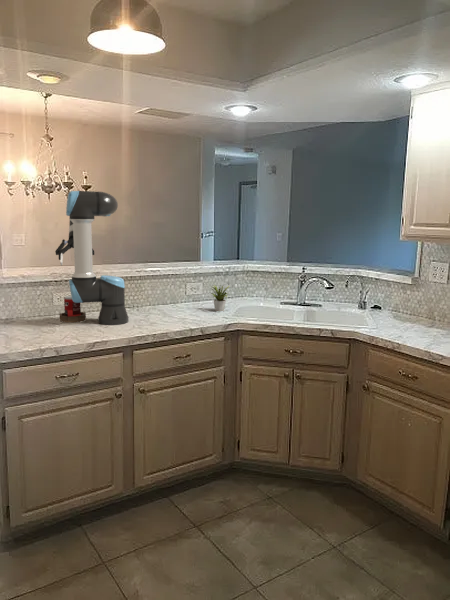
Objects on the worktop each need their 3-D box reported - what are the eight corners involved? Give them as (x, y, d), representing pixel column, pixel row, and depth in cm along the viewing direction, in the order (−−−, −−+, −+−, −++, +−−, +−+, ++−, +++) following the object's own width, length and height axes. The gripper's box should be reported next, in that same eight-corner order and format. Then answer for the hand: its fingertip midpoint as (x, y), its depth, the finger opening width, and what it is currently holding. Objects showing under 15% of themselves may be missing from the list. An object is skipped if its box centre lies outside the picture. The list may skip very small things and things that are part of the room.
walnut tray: (91, 319, 261) (90, 313, 261) (72, 323, 250) (72, 317, 250) (72, 316, 267) (72, 310, 267) (54, 320, 256) (54, 314, 256)
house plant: (202, 312, 283) (202, 283, 280) (208, 307, 296) (208, 280, 293) (226, 313, 280) (227, 284, 277) (231, 309, 293) (232, 281, 290)
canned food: (66, 316, 262) (65, 295, 260) (82, 316, 263) (81, 295, 261) (63, 319, 255) (62, 298, 253) (79, 319, 255) (78, 298, 253)
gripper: (99, 238, 286) (98, 268, 274) (53, 238, 281) (50, 268, 269) (98, 229, 280) (98, 259, 268) (51, 229, 275) (49, 259, 263)
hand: (74, 264), depth 269 cm, fingers open, 13 cm apart
